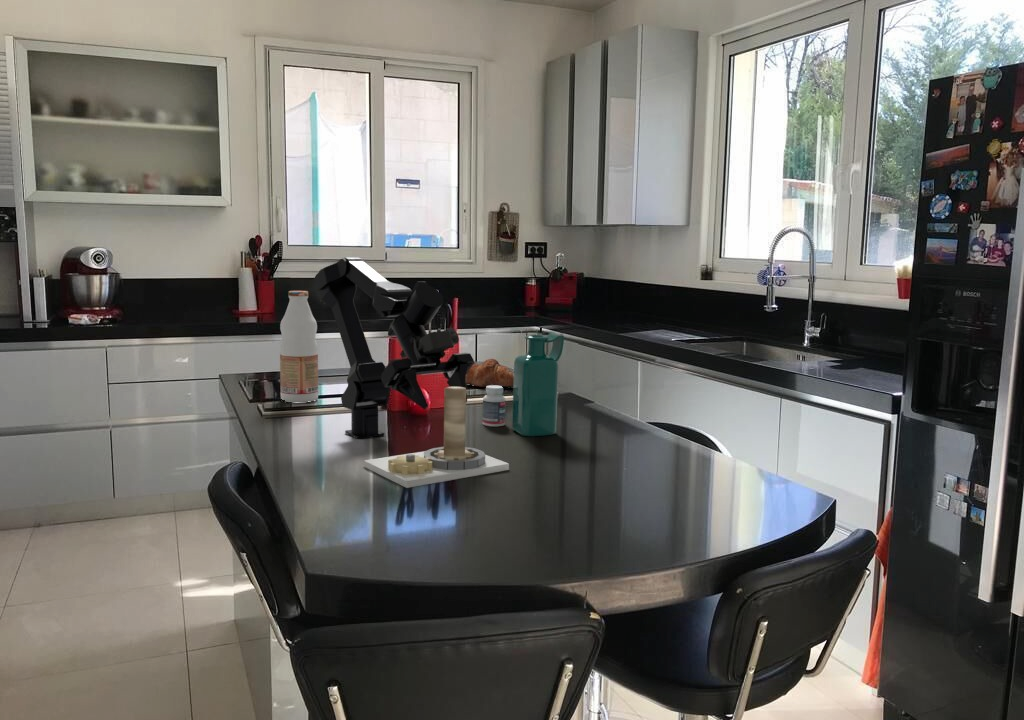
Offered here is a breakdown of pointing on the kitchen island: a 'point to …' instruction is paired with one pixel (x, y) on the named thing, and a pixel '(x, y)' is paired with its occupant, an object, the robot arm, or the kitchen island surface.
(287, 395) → the fruit juice
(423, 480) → the gear board
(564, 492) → the kitchen island surface
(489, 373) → the pastry
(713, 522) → the kitchen island surface
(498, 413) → the pill bottle
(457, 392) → the disc
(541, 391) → the pitcher
